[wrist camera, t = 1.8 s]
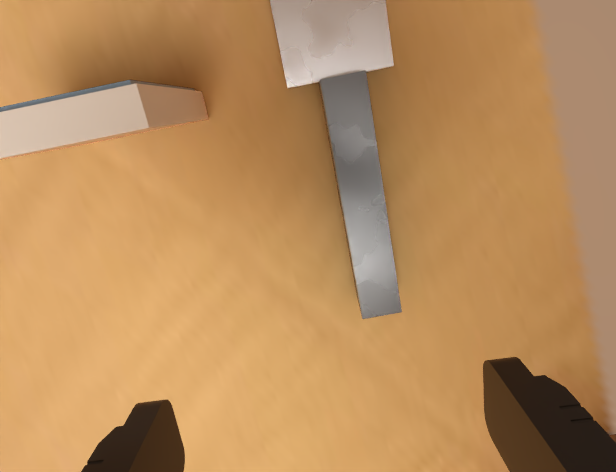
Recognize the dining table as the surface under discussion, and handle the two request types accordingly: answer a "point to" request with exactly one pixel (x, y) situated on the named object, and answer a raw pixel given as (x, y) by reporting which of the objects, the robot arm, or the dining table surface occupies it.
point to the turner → (347, 123)
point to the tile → (96, 116)
